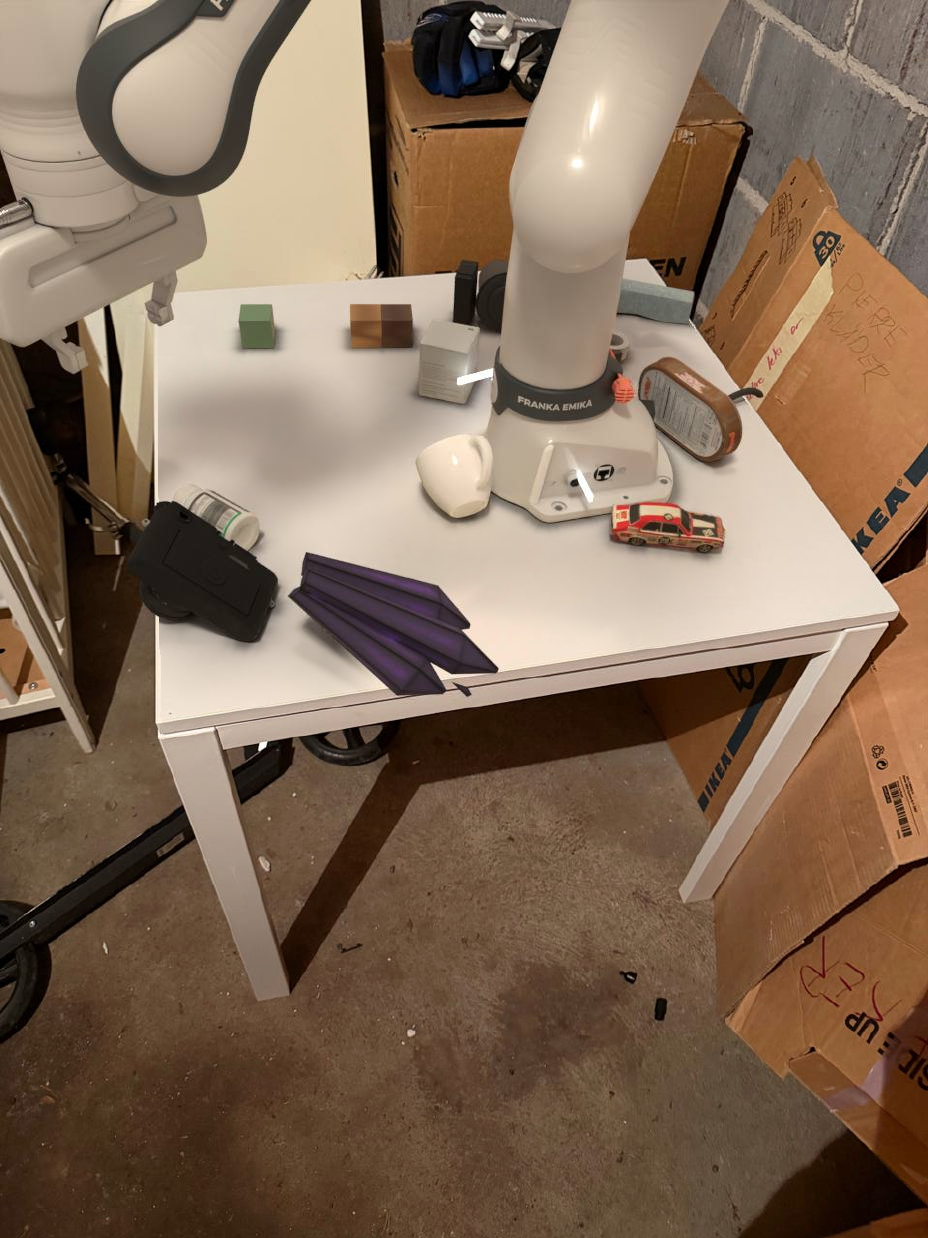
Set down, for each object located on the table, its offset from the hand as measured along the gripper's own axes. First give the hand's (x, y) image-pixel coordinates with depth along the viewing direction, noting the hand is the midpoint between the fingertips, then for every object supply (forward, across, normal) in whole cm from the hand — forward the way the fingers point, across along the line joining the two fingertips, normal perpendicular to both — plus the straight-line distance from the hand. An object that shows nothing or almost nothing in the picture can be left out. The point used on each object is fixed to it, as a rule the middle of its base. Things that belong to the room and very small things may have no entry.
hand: (120, 343), depth 76 cm
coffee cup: (+18, +61, -1) cm, 64 cm away
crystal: (+14, -3, -20) cm, 25 cm away
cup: (+18, +19, -25) cm, 37 cm away
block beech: (+21, +40, +6) cm, 46 cm away
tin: (+21, +47, -36) cm, 63 cm away
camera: (+18, -10, -13) cm, 24 cm away
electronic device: (+21, +54, -18) cm, 60 cm away
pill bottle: (+19, +2, -10) cm, 21 cm away
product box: (+21, +38, -8) cm, 45 cm away
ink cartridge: (+21, +52, -2) cm, 56 cm away
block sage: (+21, +31, +17) cm, 41 cm away
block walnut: (+21, +43, +3) cm, 48 cm away
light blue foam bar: (+19, +69, -15) cm, 73 cm away
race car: (+21, +30, -43) cm, 56 cm away
